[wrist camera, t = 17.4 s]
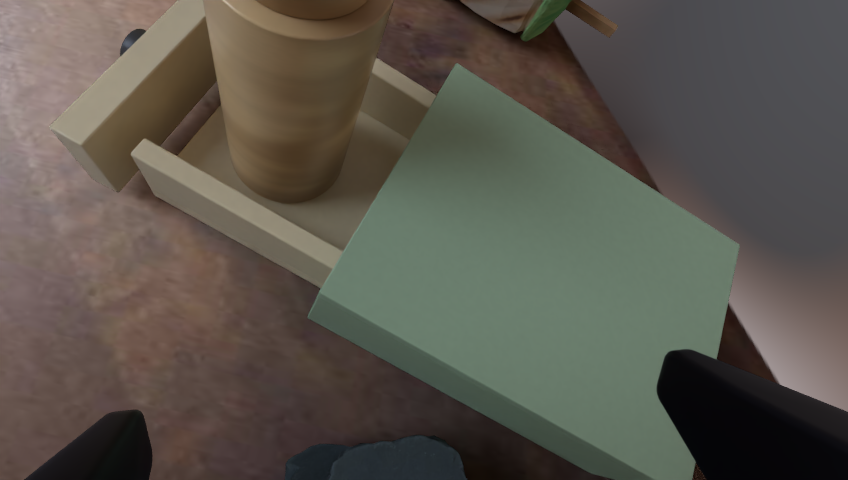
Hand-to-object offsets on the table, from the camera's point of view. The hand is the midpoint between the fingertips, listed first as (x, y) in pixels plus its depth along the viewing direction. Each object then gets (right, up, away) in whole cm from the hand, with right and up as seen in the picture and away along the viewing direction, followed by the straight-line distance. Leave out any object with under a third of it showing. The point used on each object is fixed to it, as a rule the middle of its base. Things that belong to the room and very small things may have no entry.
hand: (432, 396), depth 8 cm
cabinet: (+4, 0, +16) cm, 17 cm away
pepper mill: (-6, +7, +13) cm, 16 cm away
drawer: (-6, +6, +14) cm, 16 cm away
